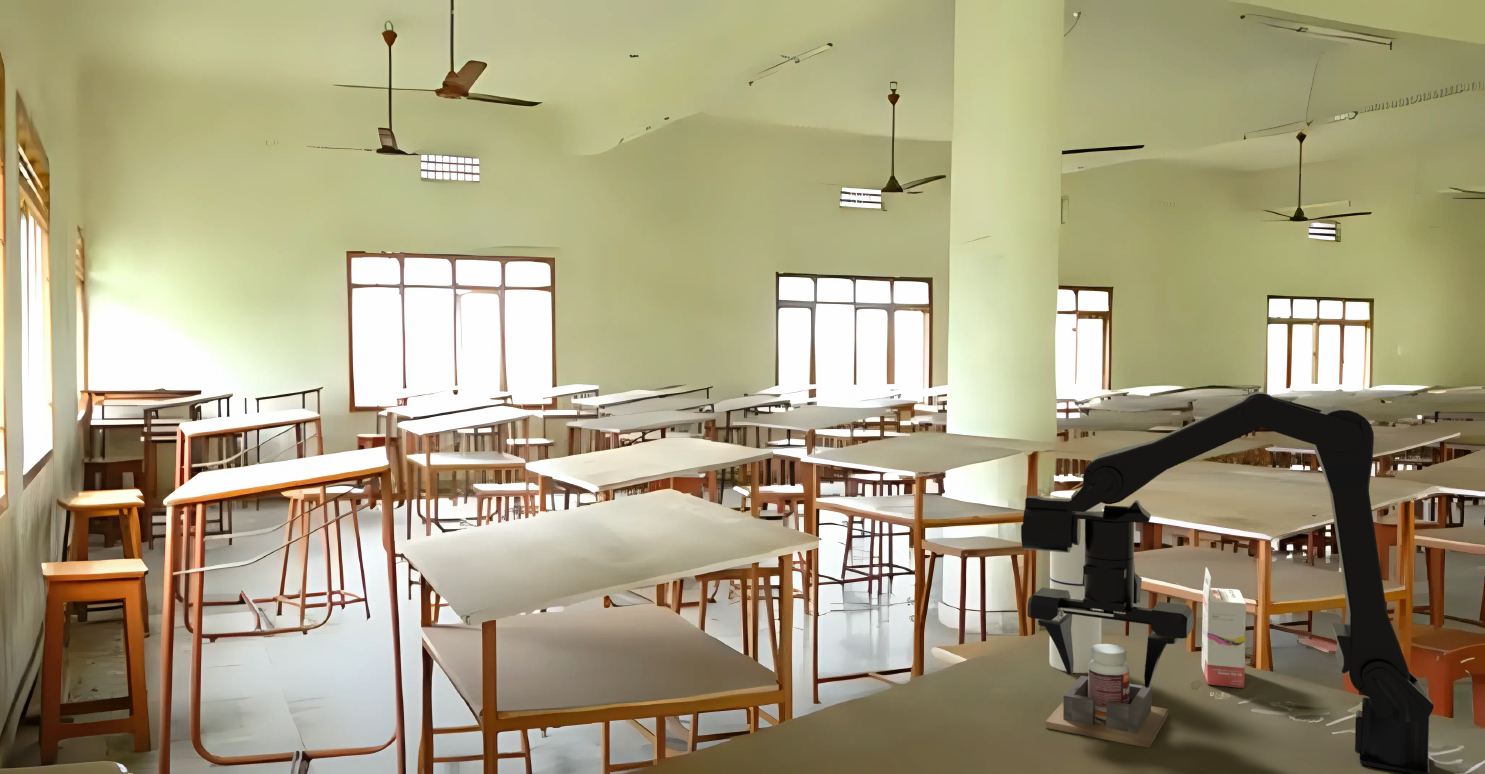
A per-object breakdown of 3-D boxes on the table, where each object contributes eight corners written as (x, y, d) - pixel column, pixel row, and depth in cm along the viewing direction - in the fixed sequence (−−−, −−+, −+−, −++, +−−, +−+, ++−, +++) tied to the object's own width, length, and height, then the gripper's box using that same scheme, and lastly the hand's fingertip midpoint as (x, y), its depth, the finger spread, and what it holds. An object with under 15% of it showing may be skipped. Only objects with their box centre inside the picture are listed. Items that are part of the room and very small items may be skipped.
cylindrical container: (1039, 661, 150) (1039, 492, 149) (1076, 654, 153) (1077, 489, 152) (1073, 675, 144) (1074, 499, 142) (1112, 668, 147) (1113, 495, 145)
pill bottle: (1132, 722, 124) (1132, 655, 123) (1091, 720, 125) (1091, 653, 124) (1126, 708, 128) (1126, 642, 128) (1086, 706, 129) (1086, 641, 129)
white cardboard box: (1246, 689, 138) (1248, 581, 137) (1206, 685, 139) (1207, 578, 138) (1238, 669, 146) (1240, 567, 145) (1200, 666, 147) (1201, 565, 147)
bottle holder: (1167, 714, 128) (1168, 685, 128) (1149, 747, 118) (1149, 715, 118) (1071, 697, 135) (1071, 669, 135) (1045, 727, 125) (1045, 696, 125)
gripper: (1201, 551, 127) (1199, 674, 128) (1050, 537, 137) (1050, 651, 138) (1186, 568, 118) (1185, 701, 119) (1026, 552, 128) (1026, 674, 129)
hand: (1108, 680), depth 126 cm, fingers open, 9 cm apart
